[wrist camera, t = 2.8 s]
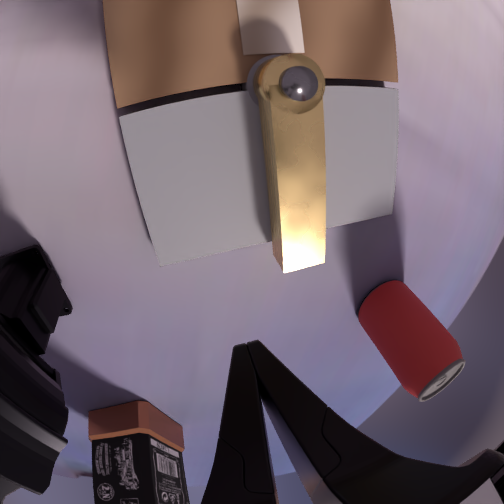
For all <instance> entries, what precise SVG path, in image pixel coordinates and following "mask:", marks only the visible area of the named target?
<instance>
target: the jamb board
mask: <svg viewBox="0 0 504 504" xmlns="http://www.w3.org/2000/svg"><path fill="white" fill-rule="evenodd" d="M278 56H282V55H270V56H266V57H264V58H262V59H260V60H259V61H257V62H256V63H255V64H254V65H253V66H252V68H251V70H250V71H249V74H248V78H247V82H246V83H241V87H242V91H235V92H228V93H221V94H215V95H208V96H203V97H197V98H192V99H187V100H182V101H177V102H172V103H168V104H163V105H159V106H155V107H151V108H147V109H143V110H139V111H136V112H132V113H128V114H125V115H122V116H120V117H119V120H120V124H121V129H122V134H123V138H124V143H125V147H126V151H127V155H128V159H129V163H130V167H131V171H132V175H133V179H134V183H135V186H136V190H137V194H138V197H139V201H140V204H141V208H142V211H143V214H144V218H145V221H146V224H147V228H148V231H149V234H150V237H151V240H152V243H153V247H154V250H155V253H156V256H157V259H158V261H159V264H160V267H162V266H166V265H171V264H175V263H179V262H184V261H188V260H192V259H196V258H201V257H205V256H209V255H214V254H218V253H222V252H227V251H231V250H235V249H240V248H244V247H248V246H253V245H257V244H261V243H266V242H270V241H272V234H271V222H270V211H269V201H268V190H267V180H266V169H265V159H264V150H263V140H262V131H261V121H260V112H259V103H258V98H257V97H256V95H255V92H254V89H253V77H254V74H255V71H256V70H257V68H258V67H259V66H260V65H261V64H262V63H263V62H264V61H266V60H268V59H271V58H274V57H278ZM323 108H324V127H325V155H326V229H328V228H332V227H336V226H341V225H345V224H350V223H354V222H359V221H363V220H368V219H372V218H377V217H381V216H386V215H390V214H392V210H393V202H394V192H395V182H396V169H397V153H398V126H399V97H398V89H394V88H386V87H372V86H349V85H325V92H324V95H323Z"/></svg>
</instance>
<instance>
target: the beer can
mask: <svg viewBox="0 0 504 504" xmlns="http://www.w3.org/2000/svg"><path fill="white" fill-rule="evenodd" d="M358 315H359V322H360V324H361V326H362V327H363V328H364V330H365V331H366V333H367V334H368V336H369V337H370V338H371V340H372V341H373V343H374V344H375V346H376V347H377V349H378V350H379V351H380V353H381V354H382V356H383V357H384V359H385V360H386V362H387V363H388V365H389V366H390V368H391V369H392V371H393V372H394V374H395V375H396V377H397V378H398V380H399V381H400V383H401V384H402V386H403V387H404V389H406V390H407V391H408V392H409V393H410V394H412V395H414V396H415V397H417V398H418V400H419V401H422V402H423V401H426V400H428V399H430V398H432V397H433V396H435V395H436V394H438V393H439V392H440V391H442V390H443V389H444V388H445V387H447V386H448V385H449V384H450V383H451V382H452V381H453V380H454V379H455V378H456V377H457V376H458V374H459V373H460V372H461V371H462V369H463V367H464V366H465V360H464V359H463V358H462V354H461V351H460V347H459V345H458V343H457V341H456V340H455V339H454V338H453V337H452V336H451V334H450V333H449V332H448V331H447V330H446V328H445V327H444V326H443V325H442V324H441V323H440V322H439V320H438V319H437V318H436V317H435V316H434V315H433V314H432V313H431V311H430V310H429V309H428V308H427V307H426V306H425V305H424V304H423V303H422V302H421V301H420V299H419V298H418V297H417V296H416V295H415V294H414V293H413V292H412V291H411V290H410V289H409V288H408V287H407V286H406V285H405V284H404V283H403V282H402V281H396V280H393V281H388V282H385V283H383V284H381V285H379V286H378V287H376V288H375V289H374V290H373V291H371V293H370V294H369V295H368V296H367V297H366V298H365V300H364V301H363V303H362V305H361V307H360V310H359V314H358Z"/></svg>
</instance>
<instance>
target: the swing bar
mask: <svg viewBox="0 0 504 504" xmlns="http://www.w3.org/2000/svg"><path fill="white" fill-rule="evenodd" d="M253 89H254V92H255V95H256V97H257V98H258V103H259V112H260V121H261V131H262V140H263V150H264V159H265V169H266V180H267V190H268V201H269V211H270V222H271V234H272V245H273V255H274V257H275V258H276V260H277V262H278V263H279V265H280V267H281V269H282V270H283V272H284V273H286V272H290V271H294V270H297V269H301V268H305V267H309V266H313V265H317V264H320V263H324V262H325V236H326V155H325V127H324V108H323V95H324V92H325V78H324V75H323V72H322V70H321V69H320V67H319V66H318V65H317V63H316V62H314V61H313V60H312V59H310V58H309V57H307V56H305V55H302V54H295V53H292V54H285V55H282V56H278V57H274V58H271V59H268V60H266V61H264V62H263V63H262V64H261V65H260V66H259V67H258V68H257V70H256V71H255V74H254V77H253Z"/></svg>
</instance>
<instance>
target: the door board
mask: <svg viewBox="0 0 504 504" xmlns="http://www.w3.org/2000/svg"><path fill="white" fill-rule="evenodd" d="M103 12H104V23H105V32H106V41H107V49H108V56H109V63H110V70H111V76H112V82H113V88H114V94H115V99H116V105H117V109H118V108H121V107H125V106H128V105H132V104H135V103H139V102H143V101H146V100H150V99H154V98H159V97H163V96H167V95H172V94H177V93H181V92H186V91H192V90H197V89H203V88H209V87H215V86H222V85H229V84H237V83H246V82H247V78H248V74H249V71H250V70H251V68H252V66H253V65H254V64H255V63H256V62H257V61H259V60H260V59H262V58H264V57H266V56H270V55H285V54H292V53H295V54H302V55H305V56H307V57H309V58H310V59H312V60H313V61H314V62H316V63H317V65H318V66H319V67H320V69H321V70H322V72H323V75H324V78H341V79H364V80H378V81H389V82H398V70H397V55H396V43H395V34H394V25H393V18H392V11H391V4H390V0H103Z"/></svg>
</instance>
